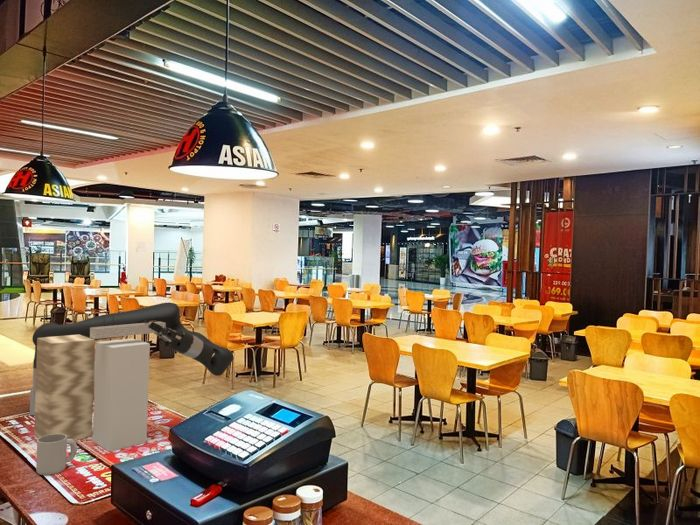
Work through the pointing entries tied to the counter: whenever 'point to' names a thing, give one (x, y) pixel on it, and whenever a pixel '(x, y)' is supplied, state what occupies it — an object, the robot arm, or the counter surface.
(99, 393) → the block
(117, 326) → the wooden block
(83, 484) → the counter surface
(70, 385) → the walnut stand
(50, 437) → the cup
